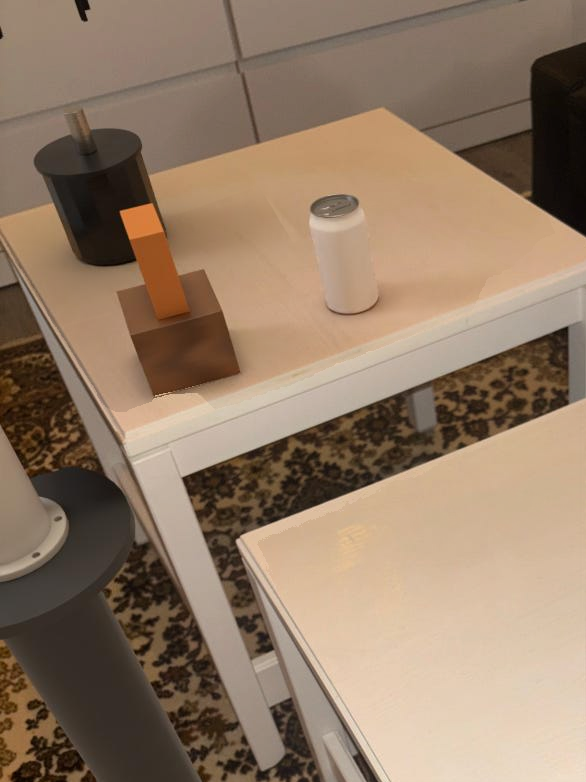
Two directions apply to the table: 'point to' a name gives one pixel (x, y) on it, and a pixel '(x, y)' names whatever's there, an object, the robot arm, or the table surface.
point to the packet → (155, 260)
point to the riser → (180, 337)
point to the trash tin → (102, 211)
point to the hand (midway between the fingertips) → (42, 26)
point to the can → (343, 253)
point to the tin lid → (86, 149)
